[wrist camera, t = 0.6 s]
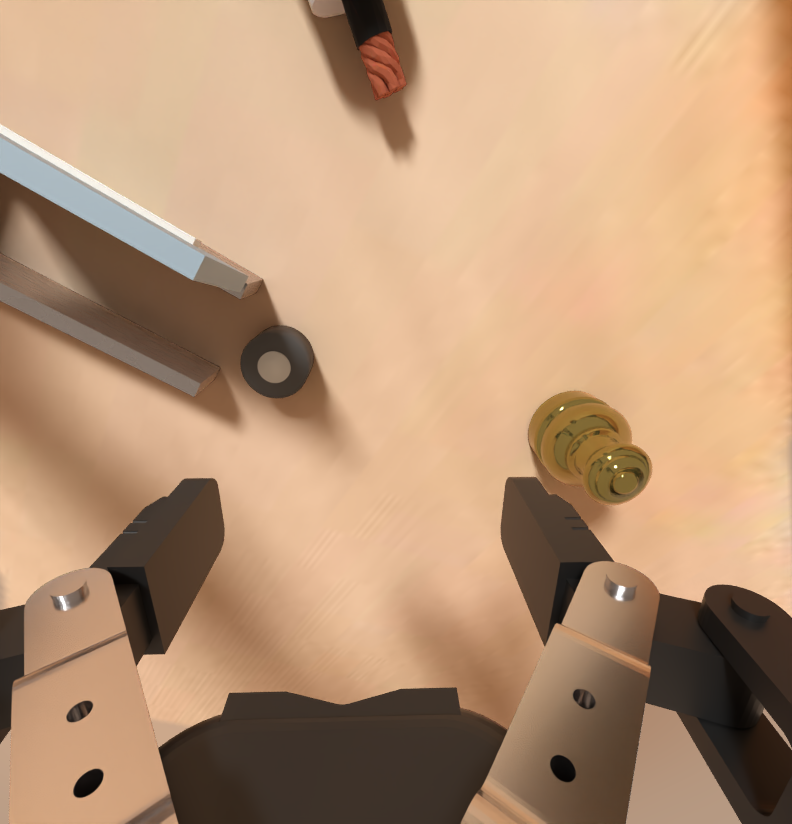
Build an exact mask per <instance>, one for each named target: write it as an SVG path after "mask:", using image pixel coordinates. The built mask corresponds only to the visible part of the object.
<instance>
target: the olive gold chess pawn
mask: <svg viewBox="0 0 792 824" xmlns="http://www.w3.org/2000/svg"><path fill="white" fill-rule="evenodd" d="M528 439H529V443H530V446H531V448H532V450H533V451H534V453H535V454H536V455H537V457H538V459H539V460H540V462H541V463H542V464H543V465H544V466H545V467H546V469H547V470H548V472H549V473H550V474H551V475H552V476H553V477H554V478H555V479H556V480H558V481H560V482H562V483H564V484H567V485H571V486H579V487H582V486H583V487H584V490H585V492H586V493H587V494H588V496H589V497H590V498H592V499H593V500H594V501H596V502H598V503H600V504H604V505H619V504H623V503H625V502H628V501H630V500H632V499H633V498H635V497H636V496H638V495H639V494H640V493H641V492H642V491H643V490H644V489H645V487H646V486H647V484H648V483H649V481H650V478H651V475H652V463H651V460H650V458H649V456H648V455H647V454H646V453H645V451H644V450H642V449H641V448H640V447H638V446H636V445H633V444H632V433H631V428H630V426H629V424H628V422H627V420H626V419H625V418H624V416H623V415H622V414H621V413H619V412H618V411H617V410H615V409H613V408H611V407H610V406H609V405H607V404H606V403H605V402H603V401H601V400H599V399H597V398H596V397H594V396H593V395H591V394H589V393H586V392H581V391H568V392H563V393H560V394H557V395H555V396H553V397H551V398H550V399H548V400H547V401H545V402H544V403H543V404H542V405H541V406H540V407H539V408H538V409H537V411H536V412H535V414H534V415H533V417H532V419H531V422H530V425H529V430H528Z"/></svg>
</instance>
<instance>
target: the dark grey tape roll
mask: <svg viewBox="0 0 792 824" xmlns="http://www.w3.org/2000/svg"><path fill="white" fill-rule="evenodd" d="M313 361H314V354H313V349H312V346H311V344H310V342H309V341H308V339H307V338H306V337H305V336H304V335H303V334H302V333H301V332H299V331H298V330H296V329H294V328H291V327H288V326H273V327H270V328H268V329H266V330H264V331H263V332H262V333H260V334H259V335H258V336H256V337H255V338H254V339H253V340H251V341H250V342H249V343H248V344H247V346H246V347H245V349H244V350H243V353H242V356H241V371H242V374H243V376H244V379H245V380H246V382H247V383H248V384H249V386H250V387H251V388H252V389H254V390H255V391H256V392H258V393H259V394H261V395H264V396H267V397H271V398H284V397H288V396H290V395H292V394H294V393H296V392H297V391H298V390H299V389H300V388H301V387H302V386H303V384H304V383H305V381H306V379H307V377H308V375H309V373H310V371H311V368H312V366H313Z"/></svg>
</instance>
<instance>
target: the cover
mask: <svg viewBox="0 0 792 824" xmlns="http://www.w3.org/2000/svg"><path fill="white" fill-rule="evenodd" d="M0 173H2V174H4V175H5V176H7V177H9V178H11V179H12V180H14V181H16V182H18V183H20V184H21V185H23V186H25V187H27V188H29V189H30V190H32V191H34V192H36V193H37V194H39V195H41V196H43V197H45V198H46V199H48V200H50V201H52V202H54V203H55V204H57V205H59V206H61V207H62V208H64V209H66V210H68V211H70V212H71V213H73V214H75V215H77V216H79V217H80V218H82V219H84V220H86V221H87V222H89V223H91V224H93V225H95V226H96V227H98V228H100V229H102V230H103V231H105V232H107V233H109V234H111V235H112V236H114V237H116V238H118V239H120V240H121V241H123V242H125V243H127V244H128V245H130V246H132V247H134V248H136V249H137V250H139V251H141V252H143V253H145V254H146V255H148V256H150V257H152V258H153V259H155V260H157V261H159V262H161V263H162V264H164V265H166V266H168V267H170V268H171V269H173V270H175V271H177V272H178V273H180V274H182V275H184V276H186V277H187V278H189V279H191V280H193V281H197V282H201V283H205V284H209V285H212V286H216V287H220V288H224V289H228V290H232V291H236V292H241V291H242V289H243V287H244V285H245V283H246V281H247V279H248V277H249V276H247V275H246V274H244V273H242V272H240V271H239V270H237V269H235V268H233V267H232V266H230V265H228V264H227V263H225V262H223V261H221V260H220V259H218V258H216V257H215V256H213V255H211V254H209V253H208V252H206V251H204V250H202V249H201V248H199V246H200V244H201V241H199V240H198V239H196V238H194V237H192V236H191V235H189V234H187V233H186V232H184V231H182V230H180V229H179V228H177V227H175V226H174V225H172V224H170V223H169V222H167V221H165V220H163V219H162V218H160V217H158V216H157V215H155V214H153V213H151V212H150V211H148V210H146V209H145V208H143V207H141V206H139V205H138V204H136V203H134V202H133V201H131V200H129V199H127V198H126V197H124V196H122V195H121V194H119V193H117V192H116V191H114V190H112V189H110V188H109V187H107V186H105V185H104V184H102V183H100V182H98V181H97V180H95V179H93V178H92V177H90V176H88V175H86V174H85V173H83V172H81V171H80V170H78V169H76V168H74V167H73V166H71V165H69V164H68V163H66V162H64V161H62V160H61V159H59V158H57V157H56V156H54V155H52V154H51V153H49V152H47V151H45V150H44V149H42V148H40V147H39V146H37V145H35V144H33V143H32V142H30V141H28V140H27V139H25V138H23V137H21V136H20V135H18V134H16V133H15V132H13V131H11V130H9V129H8V128H6V127H4V126H3V125H1V124H0Z"/></svg>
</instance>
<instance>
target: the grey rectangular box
mask: <svg viewBox="0 0 792 824" xmlns="http://www.w3.org/2000/svg"><path fill="white" fill-rule="evenodd" d="M199 248H201V249H202V250H204V251H206V252H208V253H209V254H211V255H213V256H215V257H216V258H218V259H220V260H221V261H223V262H225V263H227V264H228V265H230V266H232V267H233V268H235V269H237V270H239V271H240V272H242V273H244V274H246V275H247V276H249V277H248V279H247V281H246V283H245V285H244V287H243V289H242V291H241V292H236V291H232V290H228V289H224V288H221V289H223V290H224V291H226V292H228V293H230V294H231V295H233V296H235V297H237V298H238V299H243V298H245V297H248V296H250V295H252V294H255V293H256V292H257V290H258V288H259V286H260V284H261V282H262V280H263V279H262V278H260V277H258V276H257V275H255V274H253V273H251V272H250V271H248V270H246V269H245V268H243V267H241V266H239V265H238V264H236V263H234V262H233V261H231V260H229V259H227V258H226V257H224V256H222V255H221V254H219V253H217V252H215V251H214V250H212V249H210V248H209V247H207V246H205V245H203V244H202V243H201V244H200V246H199ZM219 288H220V287H219ZM0 301H1V302H3V303H5V304H7V305H9V306H11V307H14V308H16V309H18V310H20V311H22V312H24V313H26V314H28V315H30V316H32V317H34V318H36V319H38V320H40V321H42V322H44V323H46V324H48V325H50V326H52V327H54V328H56V329H58V330H60V331H62V332H64V333H66V334H68V335H70V336H72V337H74V338H76V339H78V340H80V341H82V342H84V343H86V344H88V345H90V346H92V347H94V348H96V349H98V350H100V351H102V352H104V353H106V354H108V355H110V356H113V357H115V358H117V359H119V360H121V361H123V362H125V363H127V364H129V365H131V366H133V367H135V368H137V369H139V370H141V371H143V372H145V373H147V374H149V375H151V376H153V377H155V378H157V379H159V380H161V381H163V382H165V383H167V384H169V385H171V386H173V387H175V388H177V389H179V390H181V391H183V392H185V393H187V394H189V395H191V396H193V397H195V396H196V395H197V394H198V393H199V392H201V391H202V390H203V389H204V388H205V387H206V386H208V385H209V384H210V383H211V382H212V381H213V380H215V378H216V375H217V373H218V371H219V369H220V367H218V366H216V365H214V364H212V363H210V362H208V361H207V360H205V359H203V358H201V357H199V356H197V355H195V354H193V353H191V352H189V351H187V350H185V349H183V348H181V347H180V346H178V345H176V344H174V343H172V342H170V341H168V340H166V339H164V338H162V337H160V336H158V335H156V334H154V333H153V332H151V331H149V330H147V329H145V328H143V327H141V326H139V325H137V324H135V323H133V322H131V321H129V320H128V319H126V318H124V317H122V316H120V315H118V314H116V313H114V312H112V311H110V310H108V309H106V308H104V307H102V306H101V305H99V304H97V303H95V302H93V301H91V300H89V299H87V298H85V297H83V296H81V295H79V294H77V293H76V292H74V291H72V290H70V289H68V288H66V287H64V286H62V285H60V284H58V283H56V282H54V281H52V280H50V279H49V278H47V277H45V276H43V275H41V274H39V273H37V272H35V271H33V270H31V269H29V268H27V267H25V266H24V265H22V264H20V263H18V262H16V261H14V260H12V259H10V258H8V257H6V256H4V255H2V254H0Z"/></svg>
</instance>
